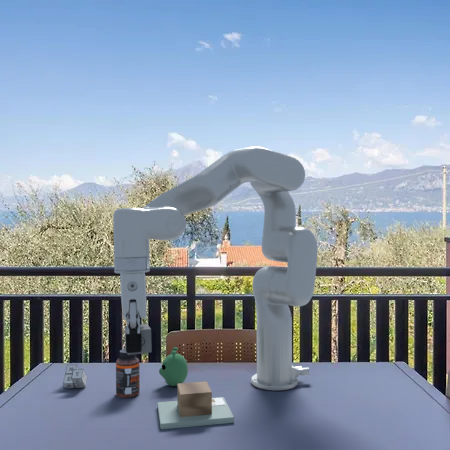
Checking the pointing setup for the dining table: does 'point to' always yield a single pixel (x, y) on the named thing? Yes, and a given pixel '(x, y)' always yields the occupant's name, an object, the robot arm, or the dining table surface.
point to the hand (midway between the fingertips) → (133, 347)
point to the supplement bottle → (127, 375)
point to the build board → (172, 418)
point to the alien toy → (174, 368)
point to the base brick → (194, 399)
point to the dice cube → (143, 339)
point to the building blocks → (74, 377)
